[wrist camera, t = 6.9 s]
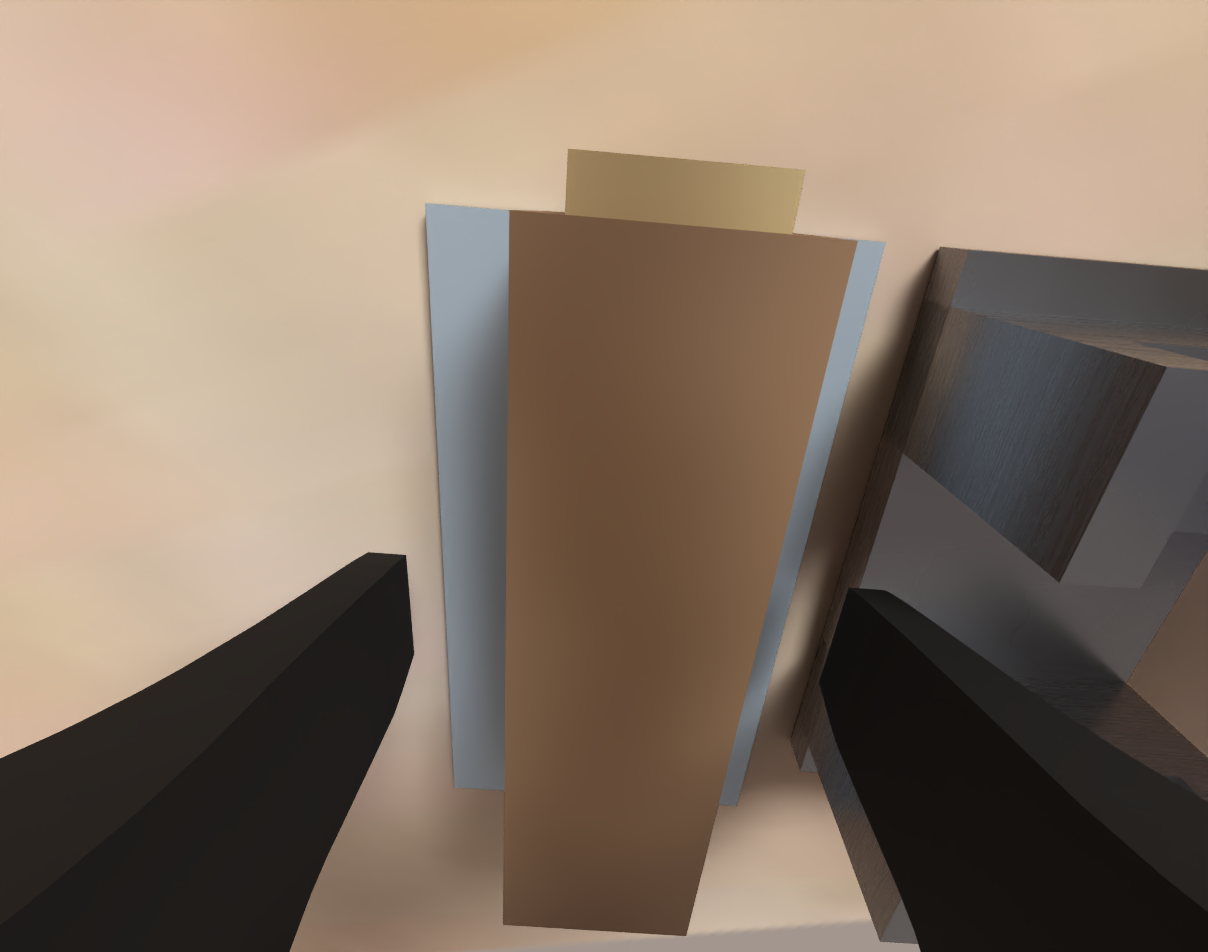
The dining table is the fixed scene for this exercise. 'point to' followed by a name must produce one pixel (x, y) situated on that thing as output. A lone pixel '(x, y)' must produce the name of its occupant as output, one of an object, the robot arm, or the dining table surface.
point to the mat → (479, 481)
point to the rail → (646, 514)
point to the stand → (1036, 500)
